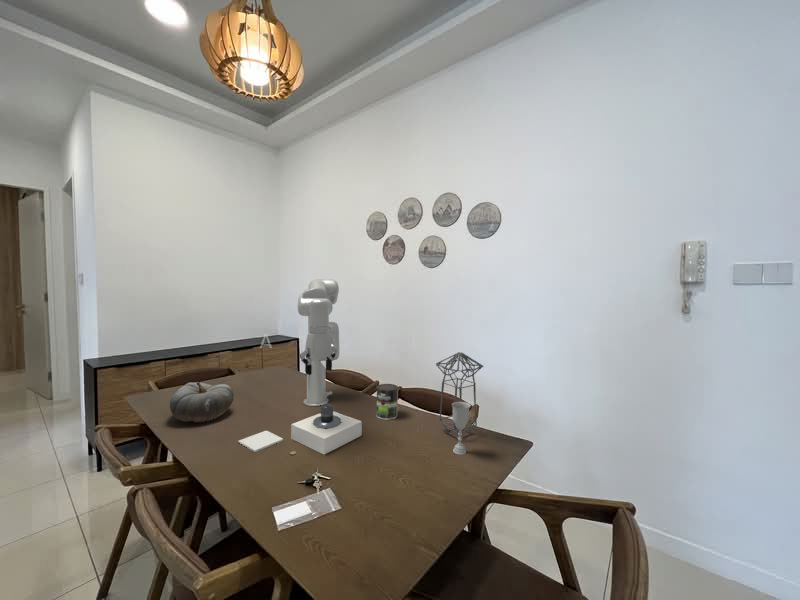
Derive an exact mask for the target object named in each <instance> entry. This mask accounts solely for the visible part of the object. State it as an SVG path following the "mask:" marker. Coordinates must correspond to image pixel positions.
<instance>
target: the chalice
mask: <svg viewBox="0 0 800 600" xmlns="http://www.w3.org/2000/svg"><path fill="white" fill-rule="evenodd" d="M451 407H452V415H453V416H452V420H453V423H455V425H456V427H455V429H459V430H458V437H459V438H457V440H458V442H457V444H455V445H454V446H453V447H454V448H453V450H452V451H453V453H454V454H456V455H465V454H466V453H467V450H466V447H465V445H464V444H463V443H462V441H463V437H462V435H463V432H462V431H463V430H462V429H464V428H466V427H465V426H467V424H468V422H469V420H468V419H470V408H471V404H470V403H468V402H466V401H465V402H464V401H462V402H460V401H456V402H455V401H454V402H452V403H451ZM461 430H462V431H461ZM461 437H462V438H461Z"/></svg>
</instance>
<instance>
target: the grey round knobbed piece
mask: <svg viewBox="0 0 800 600" xmlns="http://www.w3.org/2000/svg"><path fill="white" fill-rule="evenodd" d="M333 411H334V404H332V403H326V404H323V405H321V406H320V413H321V416H320V417H317V418H315V419H314V420H313V425H314V426H315V427H317V428H322V429H328V428H333V427H336V426H338V425H339V424H340V423H341V419H340V418H339V417H338V416H334V415H333Z"/></svg>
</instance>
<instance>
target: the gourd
mask: <svg viewBox="0 0 800 600" xmlns="http://www.w3.org/2000/svg"><path fill="white" fill-rule="evenodd" d="M234 394H235V393H234V391H233V388H232V387H231V386H230V385H228V384H226V383H225V384H223V383H221V384H216V385H212V384H207V383H203V382H200V381H196V382H187V383H186V384H184V385H183V386H181V387H180V388H178V390H176V392H174V394H173V395H172V396H171V397H170V400H169V409H170V413H171V415H172V417H173V418H175V419H177V420H178V421H182V422H183V423H190V422H193V423H204V422H205V421H207V422H210V420H211V421H213V419H214V420H216V419H218V418H219V417H221V416H222V415H224V414H225V413H226V412H227V411H228V409H229V408H230V407H231V406H232V404H233V401H234V399H235V397H234V396H235V395H234Z"/></svg>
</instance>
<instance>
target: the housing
mask: <svg viewBox="0 0 800 600" xmlns="http://www.w3.org/2000/svg"><path fill="white" fill-rule="evenodd" d="M333 415H334V416H338V417H339V418H340V419H341V423H340V424H339V425H338V426H336V427H333V428H328V429H322V428H317V427H315V426H314V425H313V420H314V419H315V418H317V417H320V416H321V412H320V413H317V414H314V415H312V416H309V417H307V418H303V419H301V420H299V421H297V422H293V423H291V424H290V428H291V429H290V439H291V440H293V441H294V442H297V443H299V444H301V445H303V446H305V447H306V448H310V449H312V450H314V451H316V452H318V453H320V454H322V455H326V454H328V453H331V452H333V451H334V450H336V449H339V448H340V447H342V446H344V445H346V444H348V443H350V442H351V441H354V440H357V438H359V437H361V436H362V433H363V432H362V430H363V429H362V427H363V425H362V424H363V421H362V420H359V419H356V418H354V417H351V416H348V415H345V414H342V413H340V412H337V411H335V410H333Z"/></svg>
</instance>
